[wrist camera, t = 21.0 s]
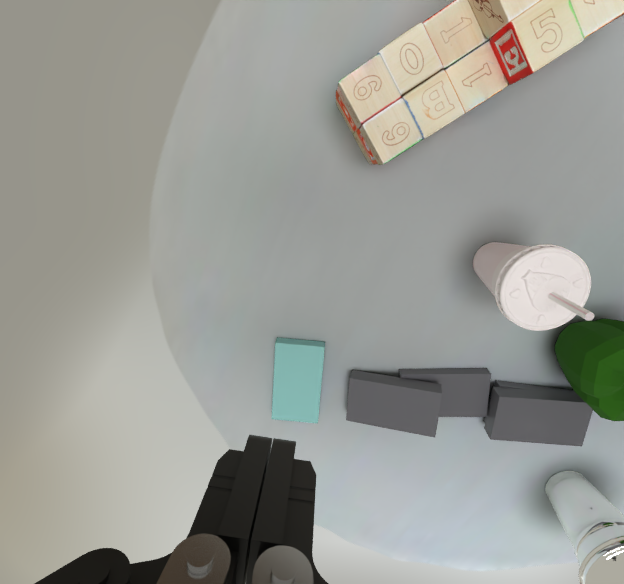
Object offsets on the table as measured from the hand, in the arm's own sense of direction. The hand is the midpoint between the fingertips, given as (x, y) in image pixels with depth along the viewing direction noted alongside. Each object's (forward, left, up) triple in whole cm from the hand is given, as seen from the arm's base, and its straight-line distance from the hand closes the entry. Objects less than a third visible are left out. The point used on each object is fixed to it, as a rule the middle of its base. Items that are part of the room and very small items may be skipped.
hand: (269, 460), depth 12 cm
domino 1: (0, +17, -27) cm, 32 cm away
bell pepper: (-28, +4, -27) cm, 39 cm away
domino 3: (-11, +12, -27) cm, 31 cm away
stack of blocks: (-10, -19, -27) cm, 35 cm away
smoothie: (-17, -3, -27) cm, 32 cm away
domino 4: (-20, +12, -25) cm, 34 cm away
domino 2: (-6, +13, -26) cm, 30 cm away
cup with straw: (-32, +21, -27) cm, 47 cm away
